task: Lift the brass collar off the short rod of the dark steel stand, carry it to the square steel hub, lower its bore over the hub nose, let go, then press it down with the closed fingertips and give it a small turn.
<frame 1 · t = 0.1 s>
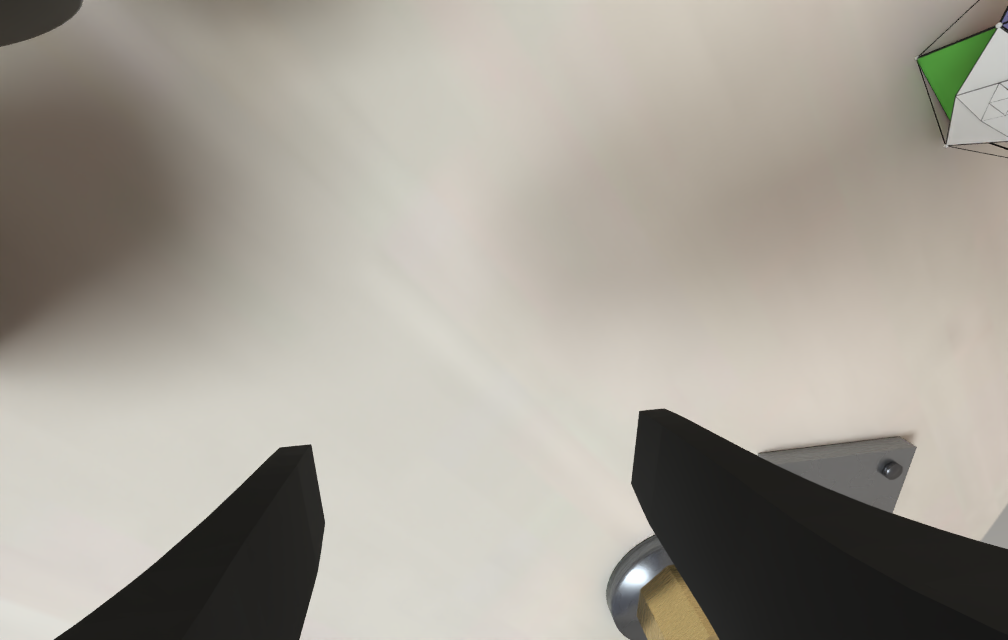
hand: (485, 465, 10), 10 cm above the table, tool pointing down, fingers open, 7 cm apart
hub: (812, 508, 28), on the table
geometric puzzle: (952, 73, 20), on the table
brass collar: (679, 595, 27), point 1 cm above the table, touching stand
stand: (670, 580, 28), on the table
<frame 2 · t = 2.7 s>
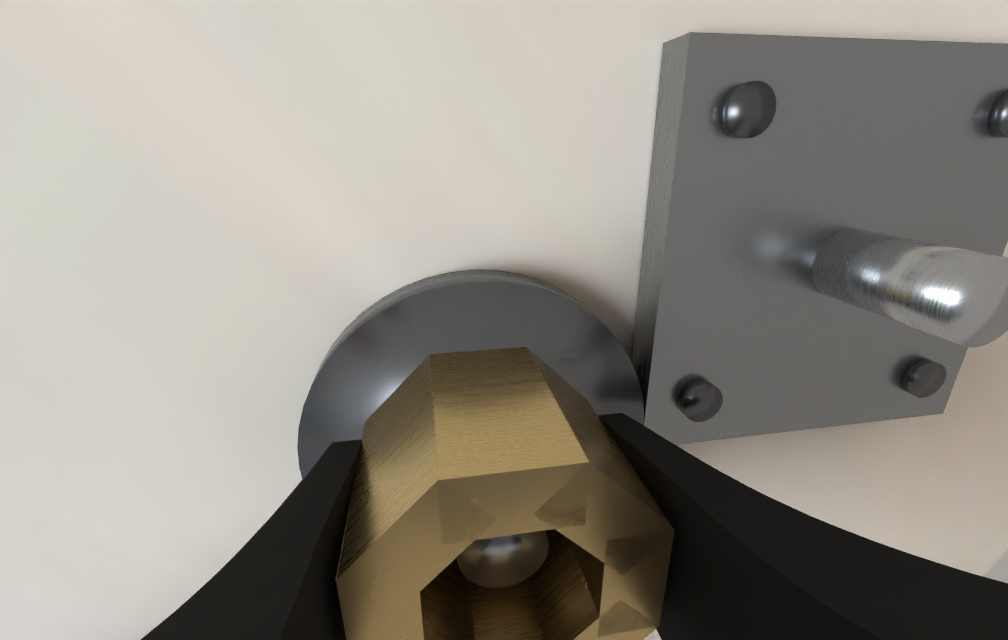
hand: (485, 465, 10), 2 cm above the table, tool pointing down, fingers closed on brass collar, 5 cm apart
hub: (809, 254, 12), on the table
brass collar: (481, 448, 11), point 1 cm above the table, touching gripper, stand
stand: (476, 424, 12), on the table
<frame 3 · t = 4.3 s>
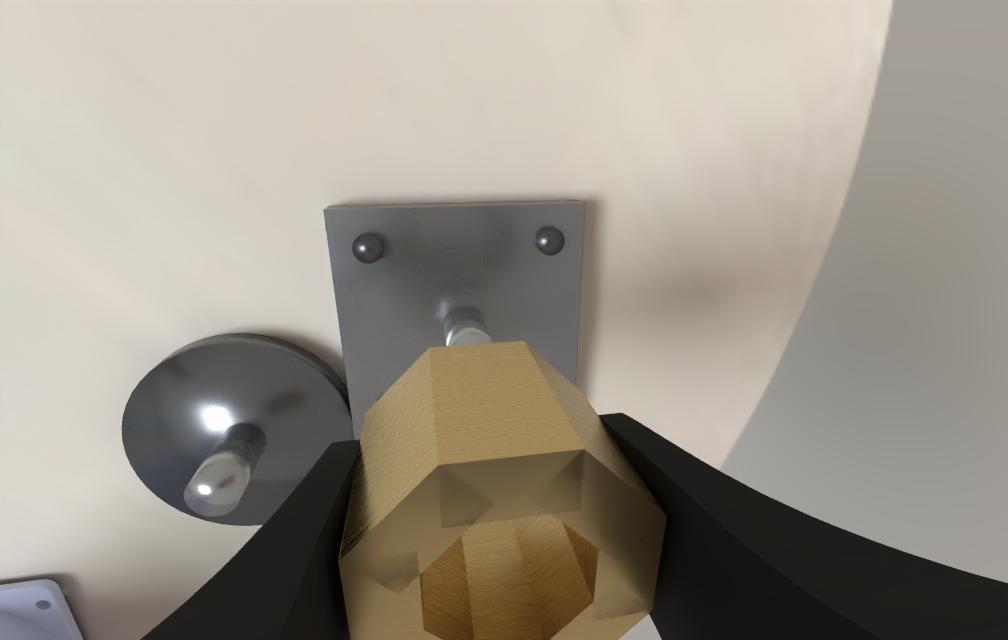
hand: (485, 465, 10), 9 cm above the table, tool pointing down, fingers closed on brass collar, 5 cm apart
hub: (462, 318, 19), on the table
brass collar: (479, 441, 11), point 8 cm above the table, touching gripper
stand: (252, 426, 19), on the table
when the fingers open (3 cm above the table, at t = 6.3 s): brass collar stays where it is, resting on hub.
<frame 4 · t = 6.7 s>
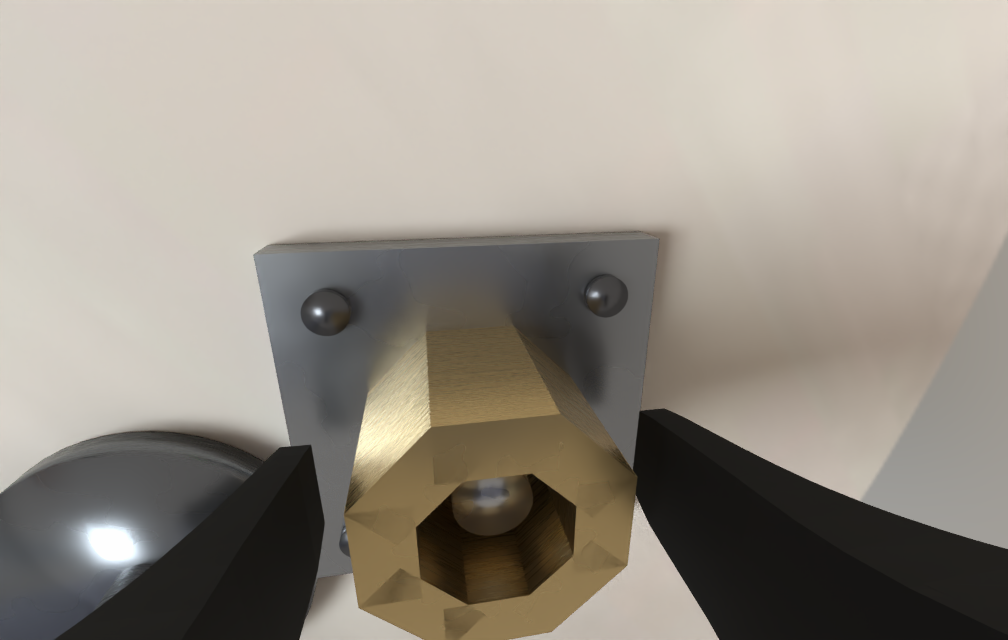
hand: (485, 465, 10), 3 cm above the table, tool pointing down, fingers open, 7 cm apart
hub: (471, 400, 13), on the table
brass collar: (473, 419, 12), point 1 cm above the table, touching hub
stand: (169, 555, 13), on the table
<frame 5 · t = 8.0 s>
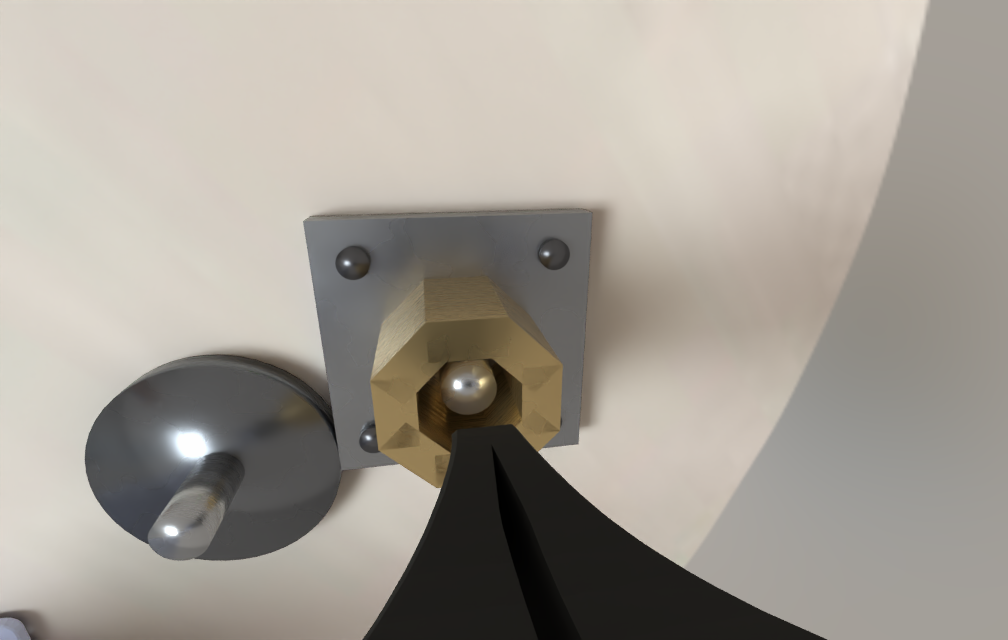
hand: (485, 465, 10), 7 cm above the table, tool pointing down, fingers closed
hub: (457, 337, 17), on the table
brass collar: (458, 347, 16), point 1 cm above the table, touching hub
stand: (230, 454, 17), on the table
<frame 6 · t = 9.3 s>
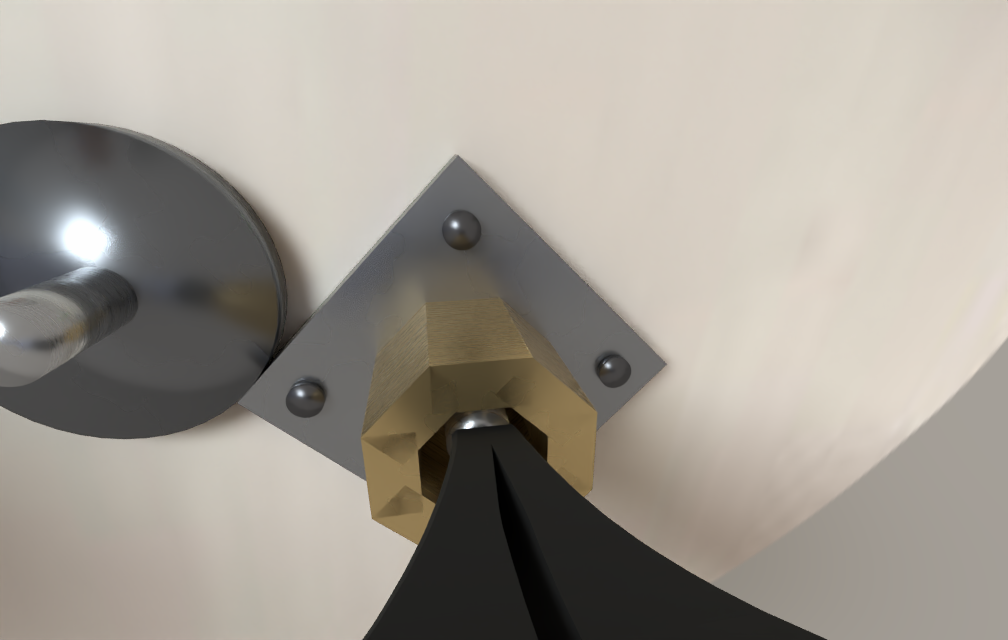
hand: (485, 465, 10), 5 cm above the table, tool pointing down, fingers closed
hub: (464, 367, 15), on the table
brass collar: (466, 380, 14), point 1 cm above the table, touching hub
stand: (123, 287, 12), on the table
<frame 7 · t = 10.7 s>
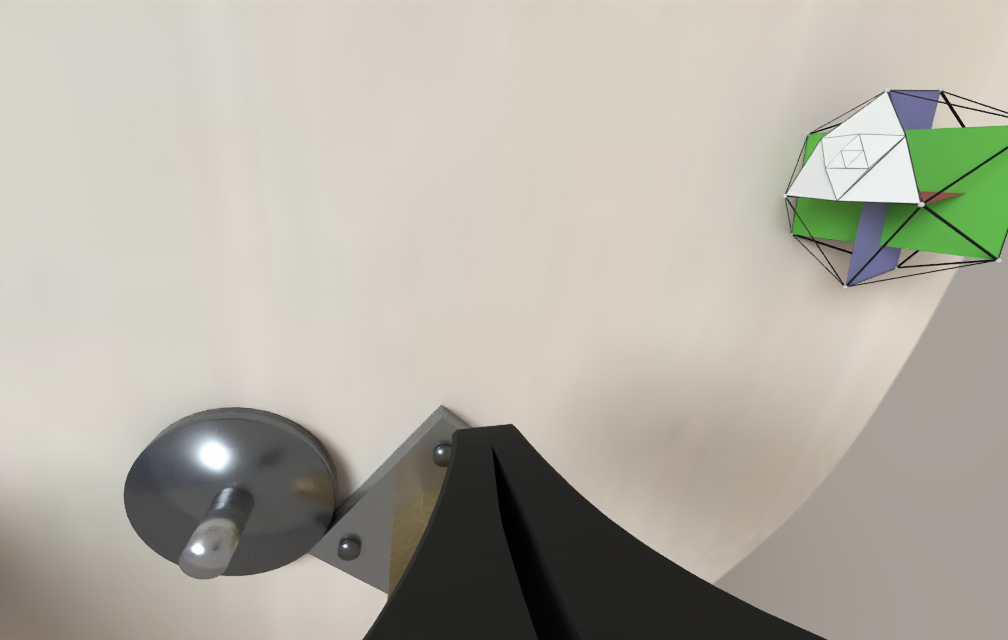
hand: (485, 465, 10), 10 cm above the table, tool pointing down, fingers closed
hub: (447, 517, 23), on the table
geometric puzzle: (819, 183, 21), on the table
brass collar: (448, 532, 22), point 1 cm above the table, touching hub
stand: (241, 487, 21), on the table
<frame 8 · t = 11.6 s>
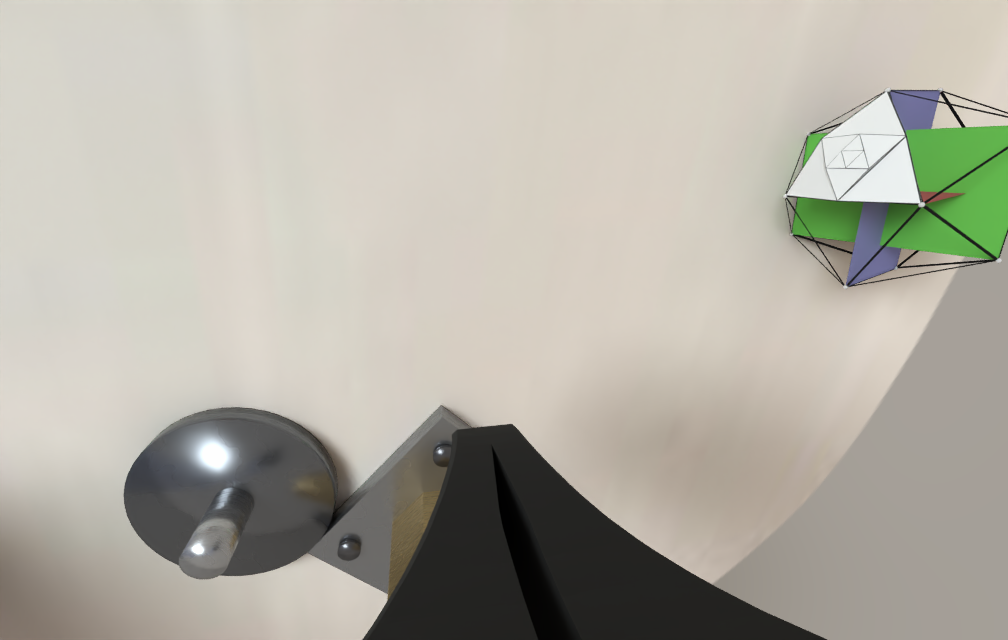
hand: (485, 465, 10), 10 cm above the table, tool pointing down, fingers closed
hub: (447, 517, 23), on the table
geometric puzzle: (819, 183, 21), on the table
brass collar: (448, 532, 22), point 1 cm above the table, touching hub
stand: (241, 487, 21), on the table
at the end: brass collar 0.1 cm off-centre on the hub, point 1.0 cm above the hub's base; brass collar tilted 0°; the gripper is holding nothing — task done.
